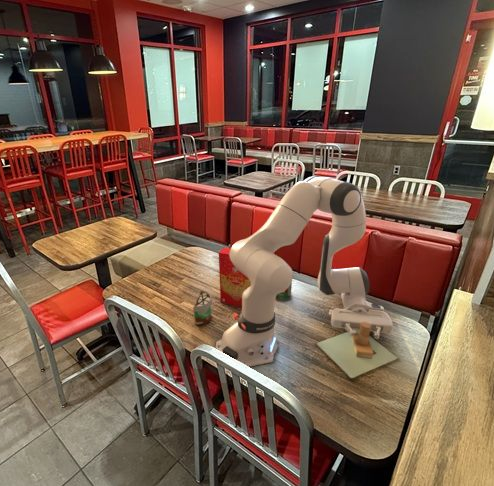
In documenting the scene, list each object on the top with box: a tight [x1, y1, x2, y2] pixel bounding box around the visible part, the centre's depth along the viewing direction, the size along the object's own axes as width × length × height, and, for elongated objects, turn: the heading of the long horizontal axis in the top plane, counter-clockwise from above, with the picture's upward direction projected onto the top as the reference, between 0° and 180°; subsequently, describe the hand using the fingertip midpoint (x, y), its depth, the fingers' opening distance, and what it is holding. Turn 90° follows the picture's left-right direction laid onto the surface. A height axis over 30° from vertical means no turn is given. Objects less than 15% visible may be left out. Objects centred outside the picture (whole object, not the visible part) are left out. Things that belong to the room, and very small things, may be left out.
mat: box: [316, 330, 398, 379], centre depth 108 cm, size 20×17×1 cm
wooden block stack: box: [352, 322, 373, 358], centre depth 107 cm, size 9×5×10 cm, turn 167°
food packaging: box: [218, 247, 251, 308], centre depth 132 cm, size 15×5×25 cm, turn 66°
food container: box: [192, 289, 213, 326], centre depth 127 cm, size 12×6×10 cm, turn 168°
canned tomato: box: [275, 281, 293, 302], centre depth 138 cm, size 8×8×11 cm
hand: (364, 335), depth 105 cm, fingers open, 6 cm apart
